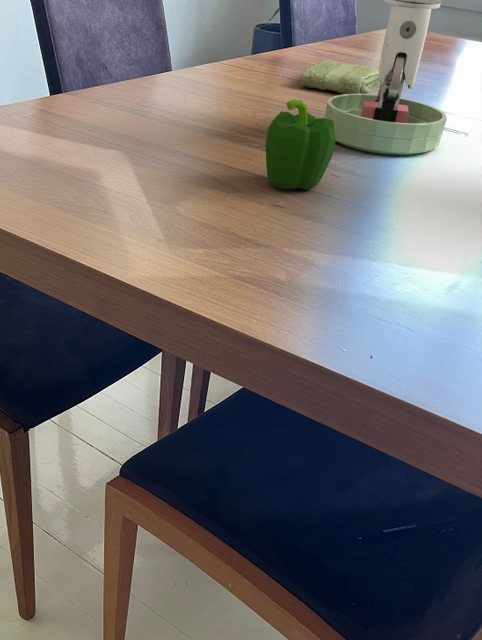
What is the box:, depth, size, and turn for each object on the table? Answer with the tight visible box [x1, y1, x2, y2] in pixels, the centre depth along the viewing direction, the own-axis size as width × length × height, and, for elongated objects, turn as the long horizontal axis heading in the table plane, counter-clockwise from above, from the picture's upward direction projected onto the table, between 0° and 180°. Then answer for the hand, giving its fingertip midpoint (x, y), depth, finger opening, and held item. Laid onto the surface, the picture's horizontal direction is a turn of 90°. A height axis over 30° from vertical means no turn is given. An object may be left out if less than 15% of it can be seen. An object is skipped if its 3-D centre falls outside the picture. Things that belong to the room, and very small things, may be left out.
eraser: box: [360, 100, 409, 123], centre depth 110 cm, size 6×4×4 cm, turn 76°
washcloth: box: [300, 59, 380, 95], centre depth 138 cm, size 13×18×3 cm
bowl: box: [323, 93, 448, 156], centre depth 109 cm, size 17×17×4 cm
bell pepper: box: [264, 99, 337, 190], centre depth 88 cm, size 8×8×10 cm
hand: (379, 131), depth 111 cm, fingers closed on eraser, 4 cm apart
